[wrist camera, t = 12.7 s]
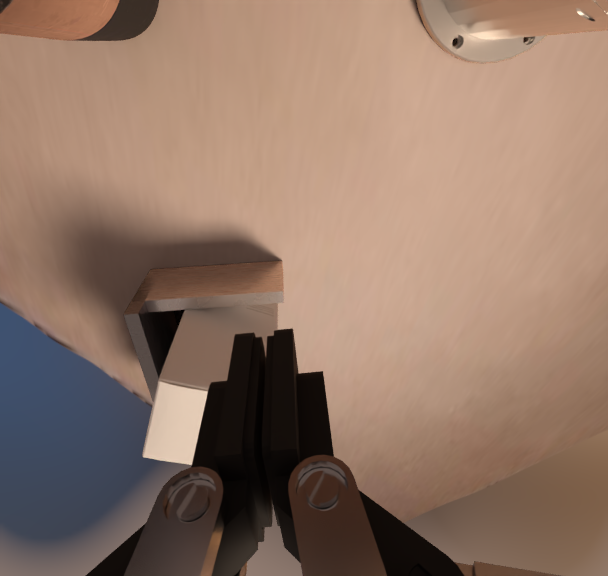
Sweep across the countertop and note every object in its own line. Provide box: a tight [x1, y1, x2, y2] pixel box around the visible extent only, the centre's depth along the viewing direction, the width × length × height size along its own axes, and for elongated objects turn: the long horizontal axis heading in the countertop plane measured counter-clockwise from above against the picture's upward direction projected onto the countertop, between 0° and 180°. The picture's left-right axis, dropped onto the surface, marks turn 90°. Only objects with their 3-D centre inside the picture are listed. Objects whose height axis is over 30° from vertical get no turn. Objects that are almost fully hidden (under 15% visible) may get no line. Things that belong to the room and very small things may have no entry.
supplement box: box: [142, 303, 278, 465], centre depth 36 cm, size 9×9×15 cm
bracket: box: [123, 261, 284, 402], centre depth 39 cm, size 13×14×8 cm
